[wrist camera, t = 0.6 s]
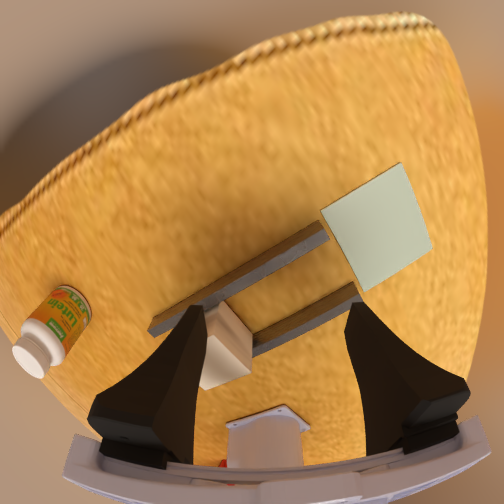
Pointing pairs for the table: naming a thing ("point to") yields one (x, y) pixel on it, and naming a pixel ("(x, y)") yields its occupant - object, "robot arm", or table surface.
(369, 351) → the robot arm
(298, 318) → the parallel grey rails
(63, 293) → the supplement bottle
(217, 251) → the table surface
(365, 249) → the pad
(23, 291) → the table surface
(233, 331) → the block
